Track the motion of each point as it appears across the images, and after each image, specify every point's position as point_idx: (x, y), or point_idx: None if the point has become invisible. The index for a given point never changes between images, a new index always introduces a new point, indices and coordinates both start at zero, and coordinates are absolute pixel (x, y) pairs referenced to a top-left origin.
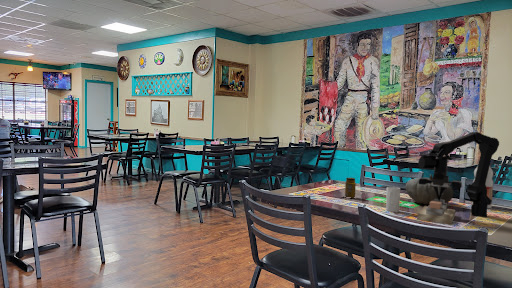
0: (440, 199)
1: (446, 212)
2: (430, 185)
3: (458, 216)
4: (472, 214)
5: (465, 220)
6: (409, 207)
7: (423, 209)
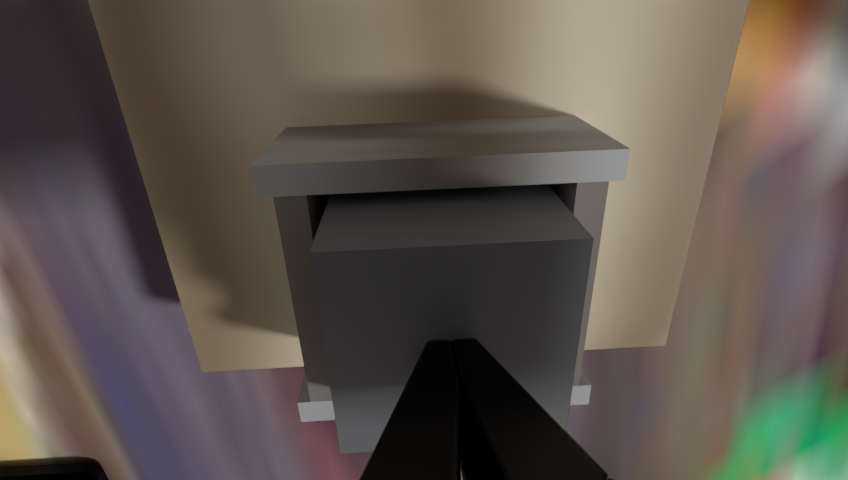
0: None
1: (239, 37)
2: None
3: None
4: (86, 471)
5: (9, 127)
6: (795, 403)
7: (705, 8)
